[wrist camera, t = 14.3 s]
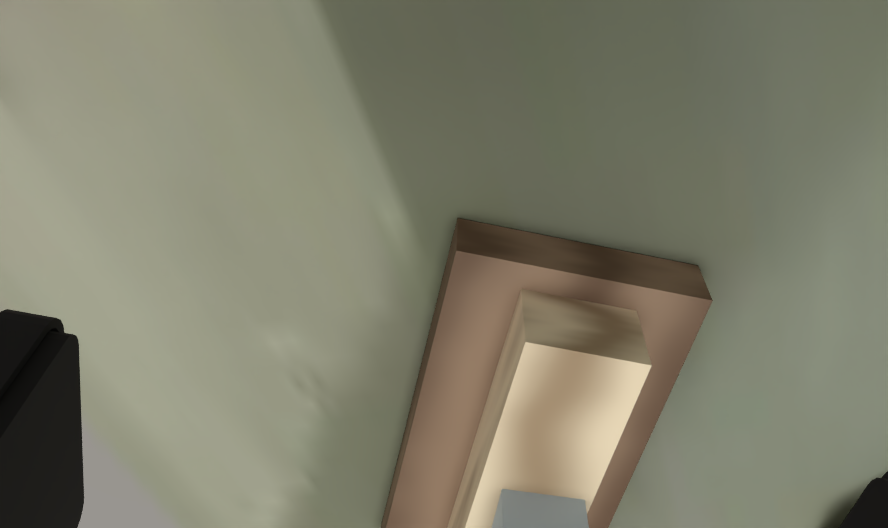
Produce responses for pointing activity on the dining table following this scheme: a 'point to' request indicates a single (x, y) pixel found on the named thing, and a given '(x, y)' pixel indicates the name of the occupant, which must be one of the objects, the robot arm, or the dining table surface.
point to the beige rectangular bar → (554, 404)
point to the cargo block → (539, 511)
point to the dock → (482, 339)
